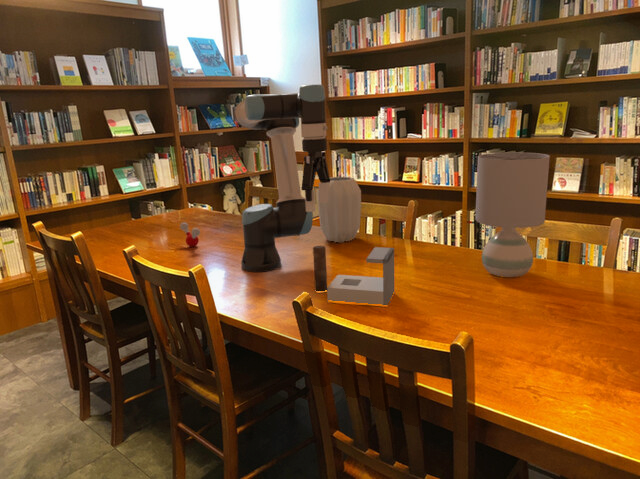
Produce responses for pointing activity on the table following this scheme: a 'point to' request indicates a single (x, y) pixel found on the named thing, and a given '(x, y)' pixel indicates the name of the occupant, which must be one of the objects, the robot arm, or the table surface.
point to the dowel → (320, 268)
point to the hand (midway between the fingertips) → (317, 207)
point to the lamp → (510, 207)
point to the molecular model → (190, 235)
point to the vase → (340, 209)
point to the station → (366, 282)
